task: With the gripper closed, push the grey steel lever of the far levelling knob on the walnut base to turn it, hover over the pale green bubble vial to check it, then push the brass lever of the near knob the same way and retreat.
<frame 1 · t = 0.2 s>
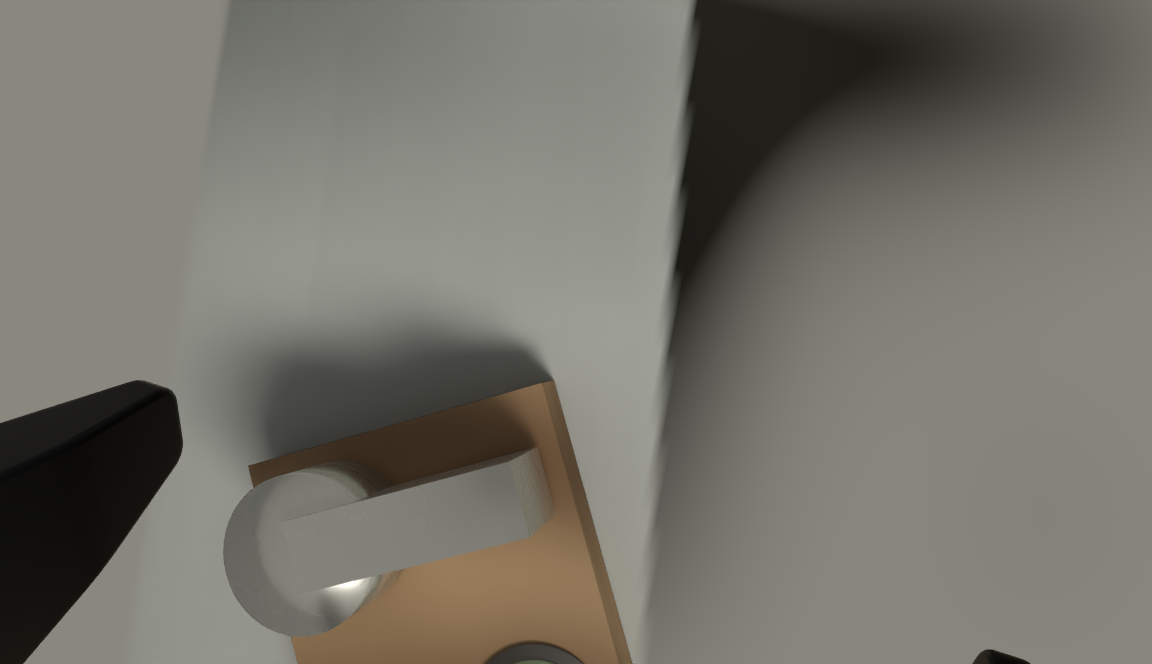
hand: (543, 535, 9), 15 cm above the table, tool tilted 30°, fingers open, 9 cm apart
steel knob: (387, 526, 22), point 3 cm above the table, hinge at 0.0°
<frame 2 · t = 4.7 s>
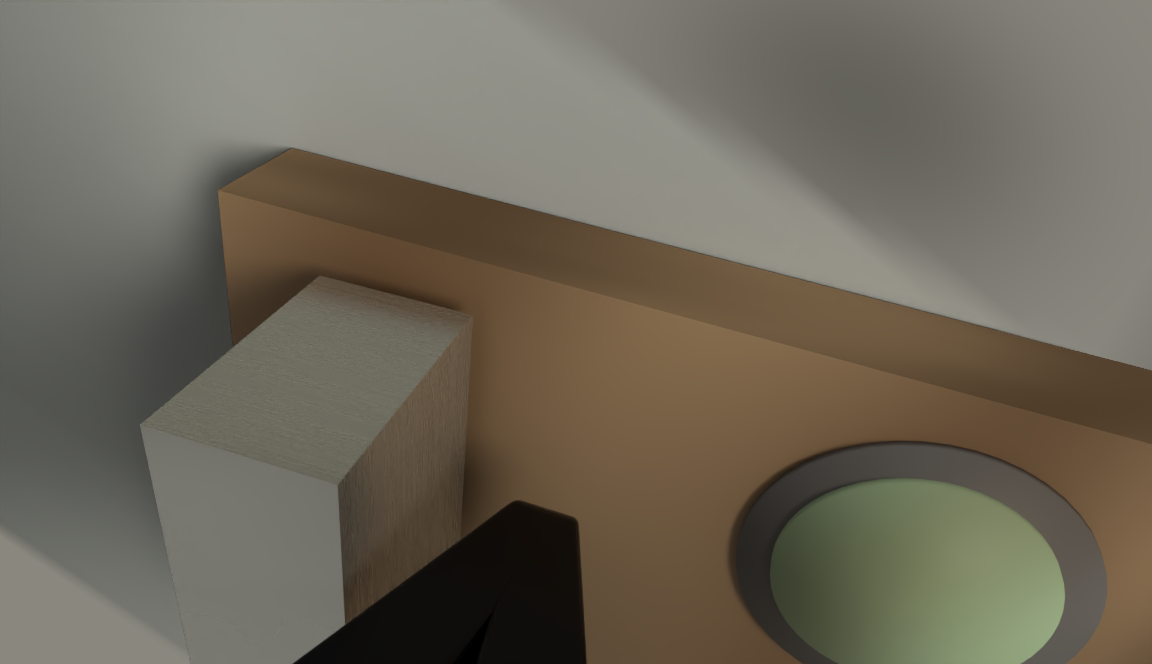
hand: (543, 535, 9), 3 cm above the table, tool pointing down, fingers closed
steel knob: (342, 635, 10), point 3 cm above the table, hinge at 1.7°, touching gripper
walnut base: (852, 595, 12), on the table
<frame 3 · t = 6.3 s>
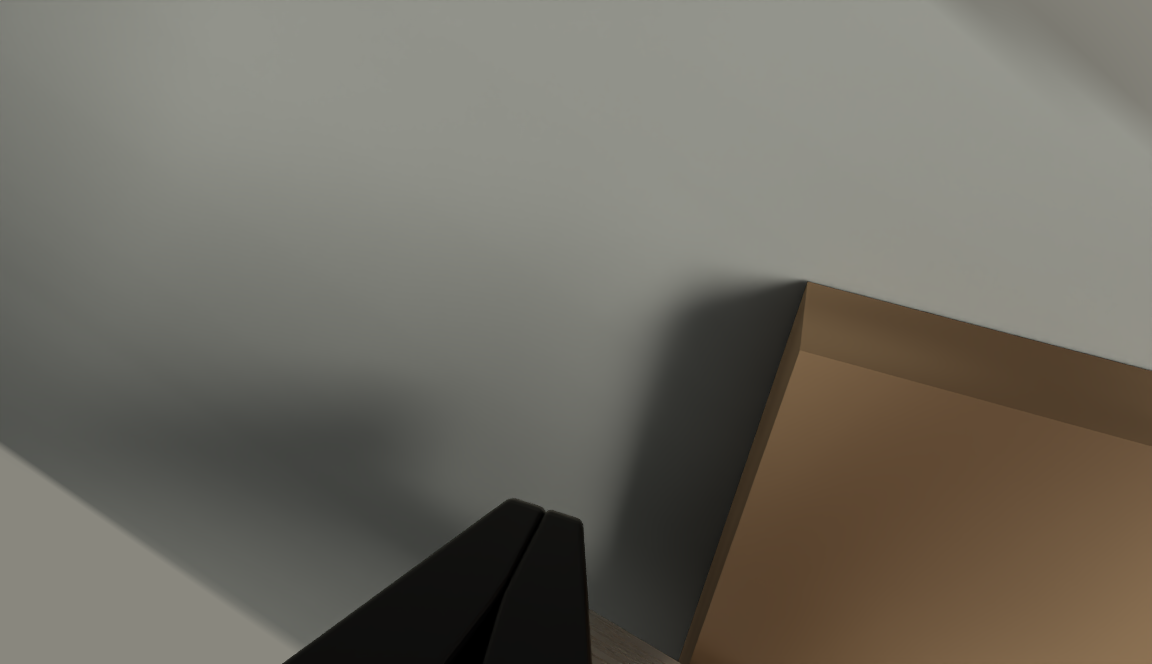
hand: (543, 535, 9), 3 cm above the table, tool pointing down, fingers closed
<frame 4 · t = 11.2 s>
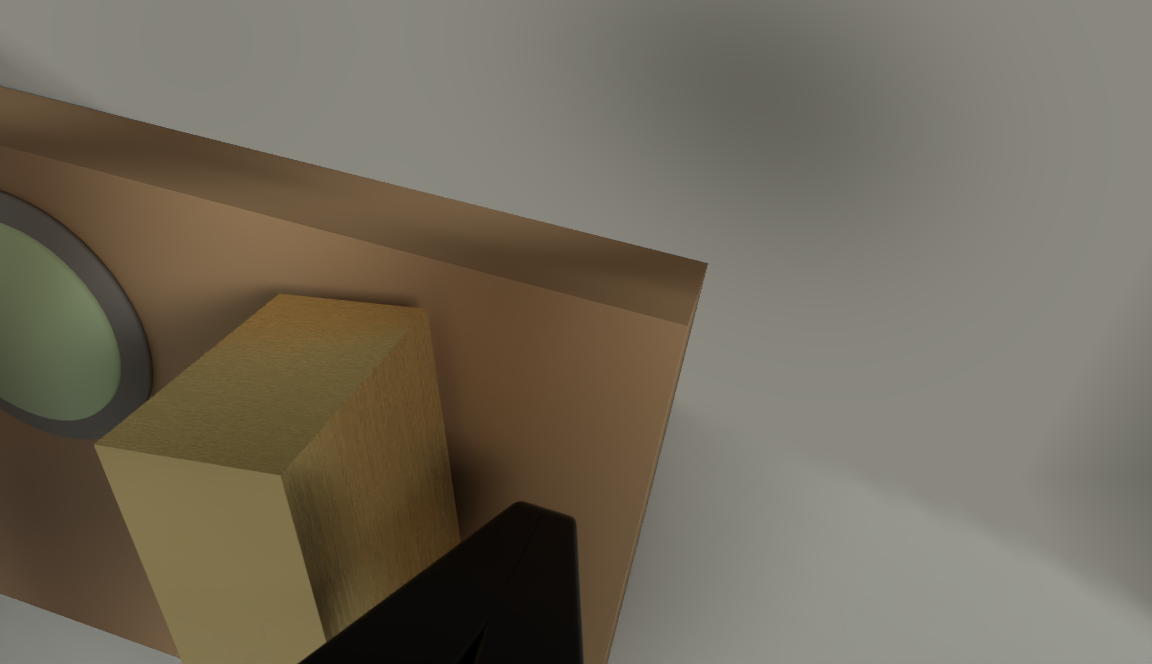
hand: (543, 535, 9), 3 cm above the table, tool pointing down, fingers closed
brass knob: (351, 651, 10), point 3 cm above the table, hinge at 10.6°, touching gripper
walnut base: (128, 379, 14), on the table
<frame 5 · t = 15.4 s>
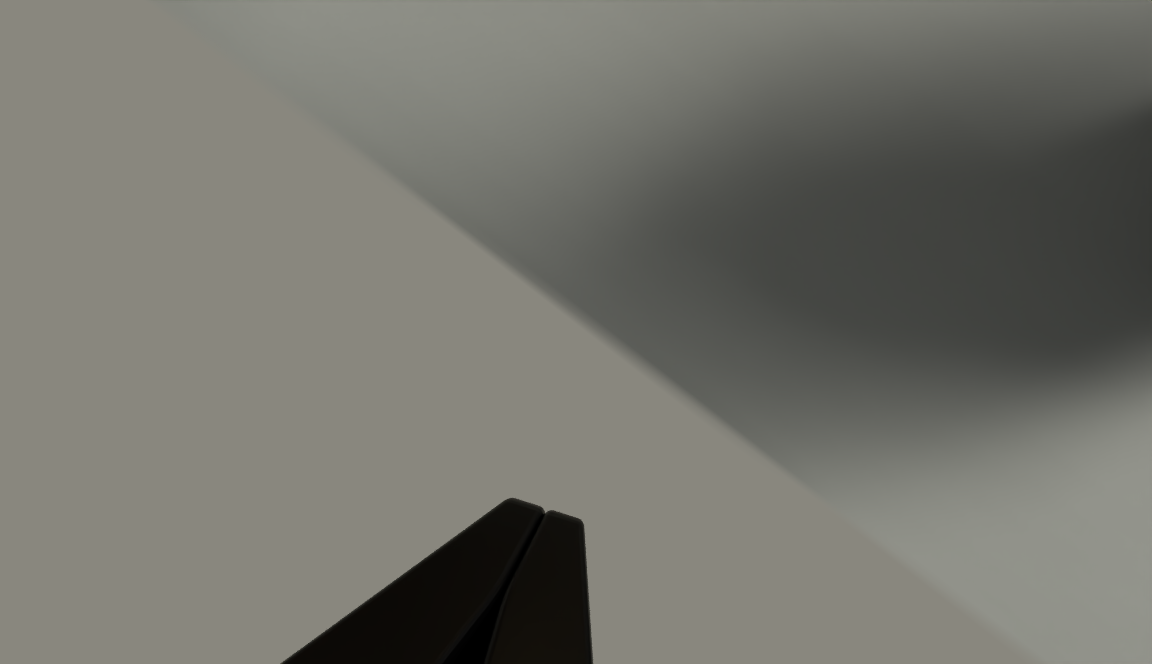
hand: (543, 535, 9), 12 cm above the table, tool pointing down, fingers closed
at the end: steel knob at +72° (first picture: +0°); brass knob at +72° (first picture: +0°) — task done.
